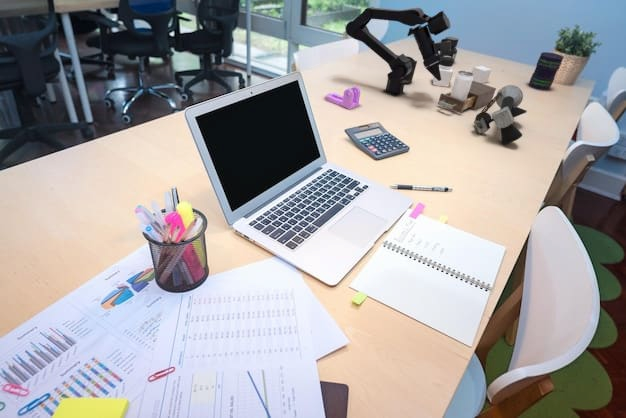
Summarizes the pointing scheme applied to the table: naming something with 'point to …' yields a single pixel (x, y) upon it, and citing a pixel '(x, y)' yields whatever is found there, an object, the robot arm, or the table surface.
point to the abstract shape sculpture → (503, 114)
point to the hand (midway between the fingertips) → (439, 79)
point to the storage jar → (545, 71)
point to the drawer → (456, 102)
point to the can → (462, 85)
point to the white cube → (480, 74)
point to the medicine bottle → (444, 71)
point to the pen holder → (409, 76)
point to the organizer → (481, 94)
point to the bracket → (346, 98)
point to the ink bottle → (453, 50)
